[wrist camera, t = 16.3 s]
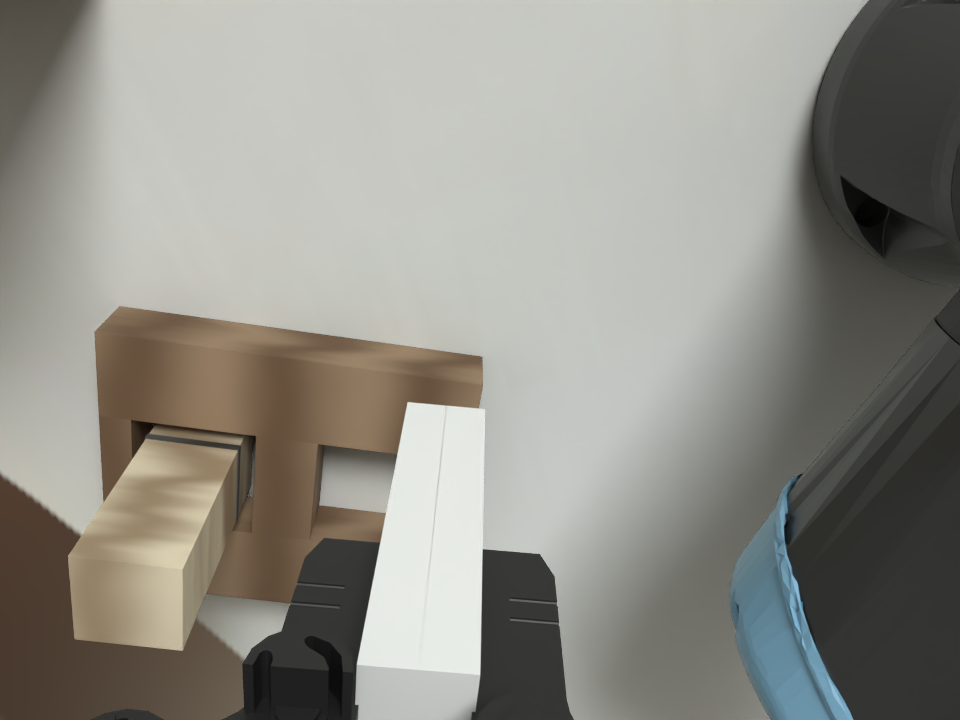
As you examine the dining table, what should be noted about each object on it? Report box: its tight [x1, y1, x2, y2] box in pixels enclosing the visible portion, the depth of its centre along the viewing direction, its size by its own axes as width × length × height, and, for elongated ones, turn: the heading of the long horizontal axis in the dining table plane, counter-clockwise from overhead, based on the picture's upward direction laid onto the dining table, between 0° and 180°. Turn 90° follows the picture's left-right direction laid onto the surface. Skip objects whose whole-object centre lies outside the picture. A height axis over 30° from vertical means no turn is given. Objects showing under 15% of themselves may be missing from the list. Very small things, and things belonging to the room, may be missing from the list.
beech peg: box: [68, 423, 253, 651], centre depth 39 cm, size 4×4×12 cm
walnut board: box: [95, 306, 483, 603], centre depth 43 cm, size 18×15×3 cm
